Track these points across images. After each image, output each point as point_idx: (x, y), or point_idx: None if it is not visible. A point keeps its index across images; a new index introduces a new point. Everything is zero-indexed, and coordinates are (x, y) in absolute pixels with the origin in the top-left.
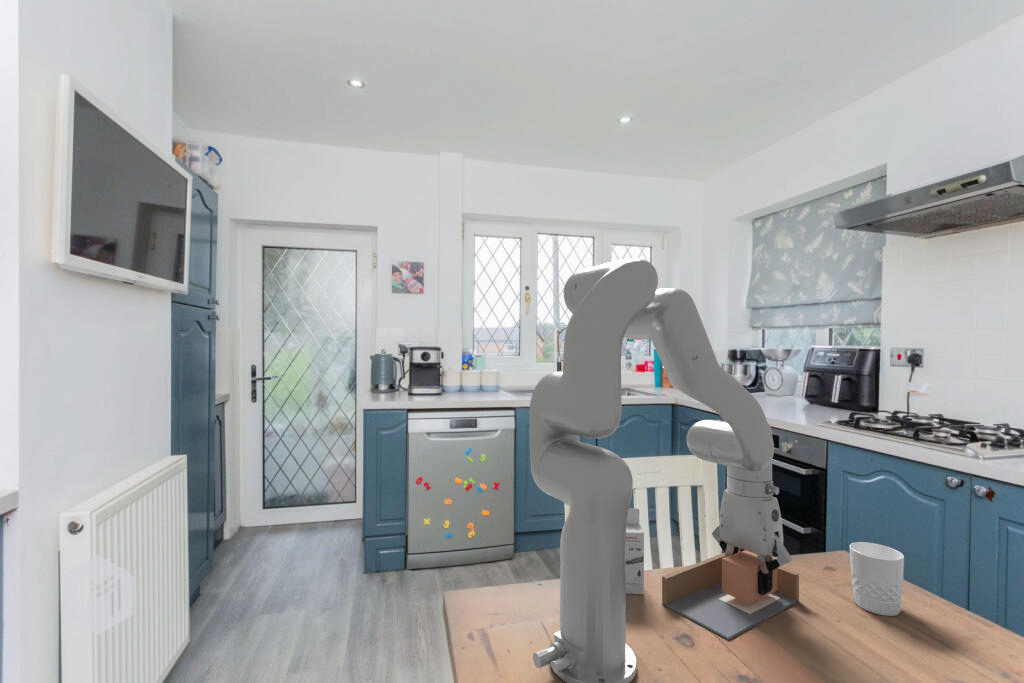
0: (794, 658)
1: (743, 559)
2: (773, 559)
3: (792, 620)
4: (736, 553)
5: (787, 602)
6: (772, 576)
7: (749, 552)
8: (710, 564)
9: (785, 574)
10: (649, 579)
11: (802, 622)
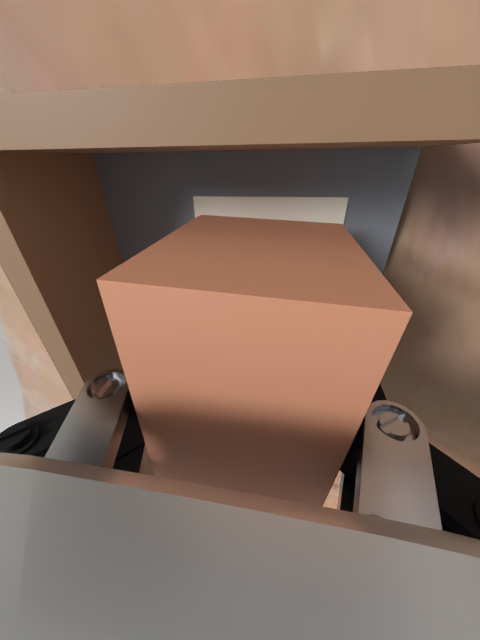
0: (457, 456)
1: (227, 481)
2: (435, 494)
3: (426, 315)
4: (145, 441)
5: (386, 212)
6: (381, 388)
7: (167, 378)
8: (93, 374)
9: (405, 142)
10: (60, 389)
11: (464, 301)
